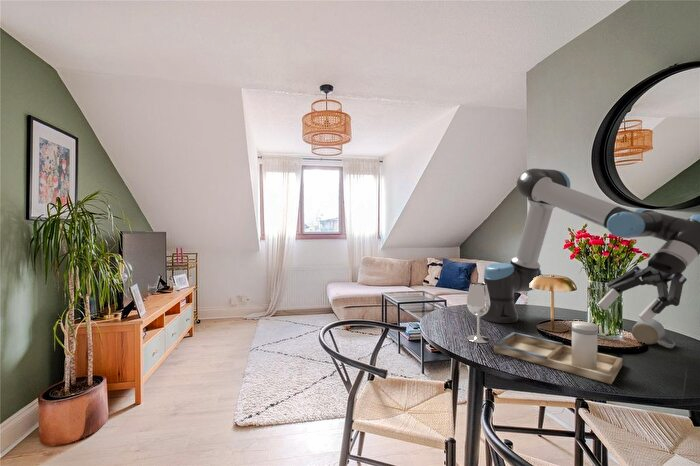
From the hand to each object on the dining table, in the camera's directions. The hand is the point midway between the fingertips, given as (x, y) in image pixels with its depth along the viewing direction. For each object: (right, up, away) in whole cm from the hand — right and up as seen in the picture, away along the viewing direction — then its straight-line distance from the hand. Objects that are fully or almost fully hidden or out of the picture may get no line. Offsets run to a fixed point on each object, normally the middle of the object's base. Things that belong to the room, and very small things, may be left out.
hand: (620, 312), depth 95 cm
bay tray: (-15, -16, +6) cm, 23 cm away
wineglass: (-32, -15, +23) cm, 42 cm away
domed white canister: (-10, -15, 0) cm, 18 cm away
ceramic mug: (+26, -15, +18) cm, 35 cm away
